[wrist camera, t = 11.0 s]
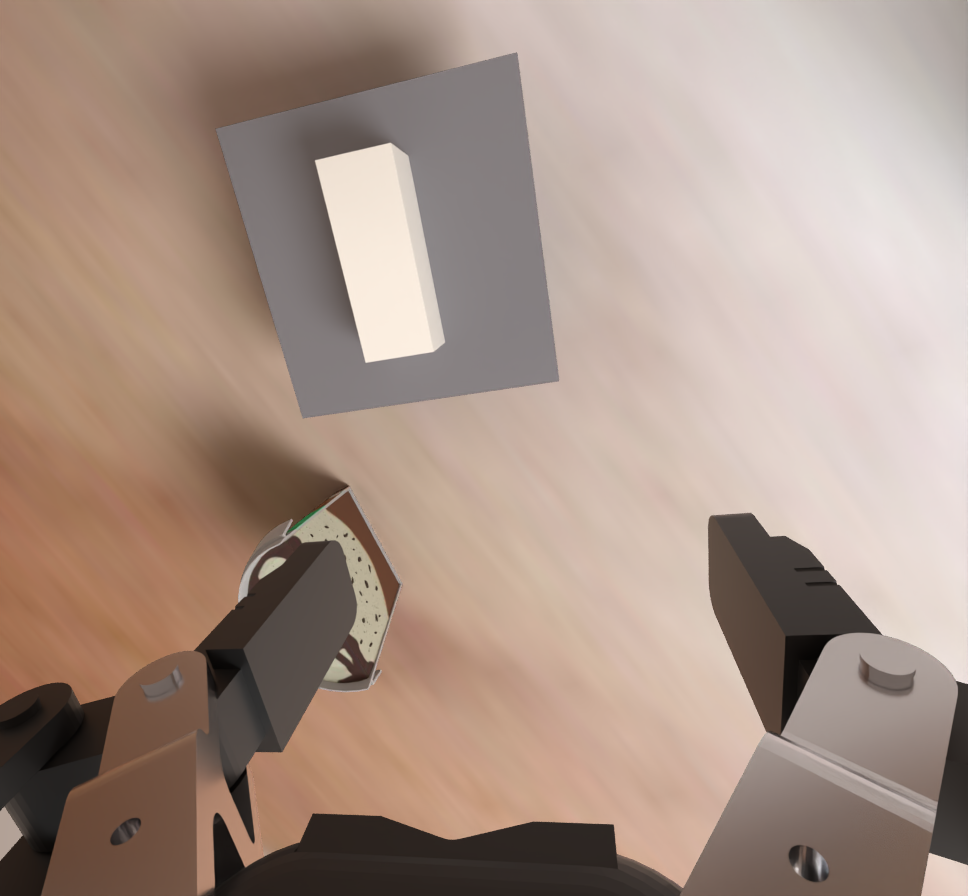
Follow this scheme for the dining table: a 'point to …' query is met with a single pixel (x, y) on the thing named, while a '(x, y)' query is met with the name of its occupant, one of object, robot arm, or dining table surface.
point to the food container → (368, 576)
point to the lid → (399, 239)
